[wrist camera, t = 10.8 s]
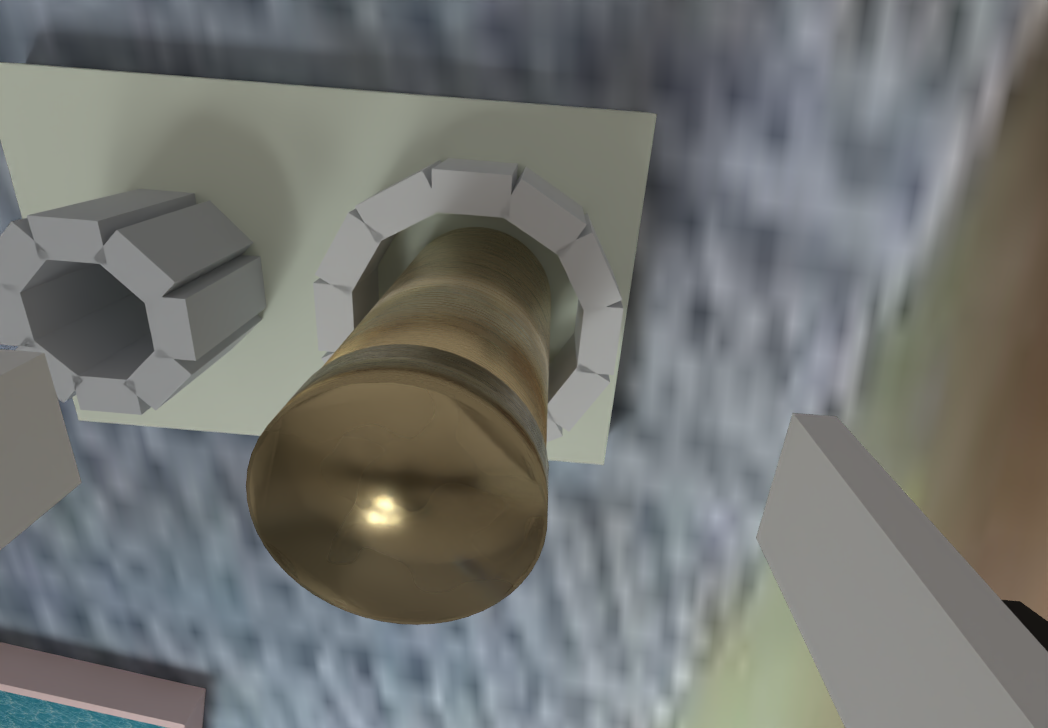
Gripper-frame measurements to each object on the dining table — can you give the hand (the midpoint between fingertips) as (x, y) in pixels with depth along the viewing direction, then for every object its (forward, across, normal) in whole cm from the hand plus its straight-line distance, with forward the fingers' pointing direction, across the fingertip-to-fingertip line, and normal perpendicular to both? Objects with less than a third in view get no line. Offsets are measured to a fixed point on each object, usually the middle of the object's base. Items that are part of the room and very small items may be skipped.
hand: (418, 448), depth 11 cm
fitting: (+8, 0, 0) cm, 8 cm away
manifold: (+10, -4, 0) cm, 10 cm away
